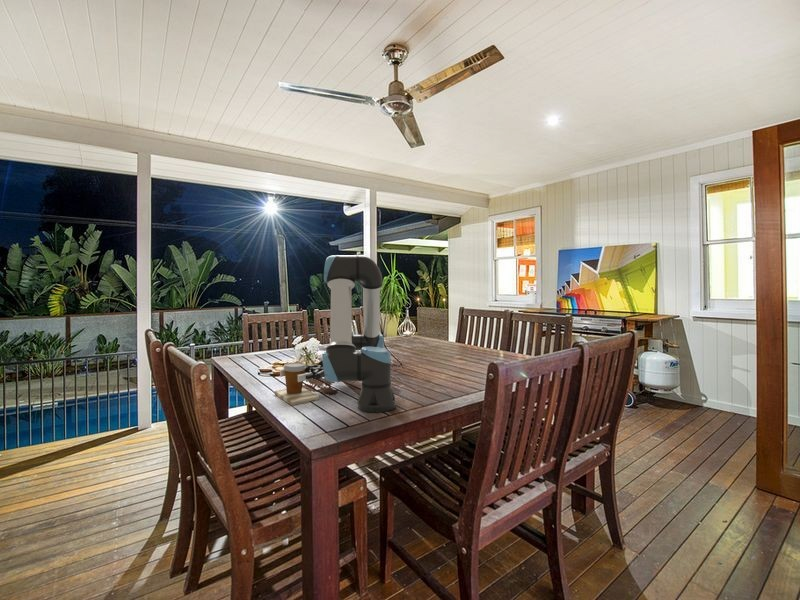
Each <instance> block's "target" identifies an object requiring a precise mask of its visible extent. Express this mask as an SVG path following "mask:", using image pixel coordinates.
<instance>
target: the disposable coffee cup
mask: <svg viewBox="0 0 800 600" xmlns="http://www.w3.org/2000/svg"><path fill="white" fill-rule="evenodd" d="M305 365H306V363H305V362H304V363H303V362H287V363H284V366H283V370H284V371H285V376H284V378H285V379H284V381H285V389H286V390H287V393H290V394H297V393H300V392H302V387H303V383H304V381H301V382H298V375H301V374H305V373H306V372H305V368H306V366H305Z"/></svg>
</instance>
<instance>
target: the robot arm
mask: <svg viewBox="0 0 800 600" xmlns="http://www.w3.org/2000/svg"><path fill="white" fill-rule="evenodd" d="M323 281H324V283H326V284H327V287H328V288H329V289H330V328H329V329H330V339H329V340H330V341H329V344H328V345H327V346H326V348H325V350H326V351H323V352H322V354H321V356H322V358H321V360H320V361H319V363H318V364H314V363H311V364H305V366H306V368H305V372H304V374H301V375H298V382H301V381H303V382H305V381H309V380H310V381H311V380H312V379H313V380H315V379H316V380H320V379H321V378H325V380H326V381H327V382H330V383H339V382H341V383H342V382H344V383H345V382H361V389H360V391H359V392H360V393H359V395H358V399H357V408H358V409H359V410H360V411H362V412H367V413H384V412H388V411H392V410H393V409H395V408H396V406H397V405H396V397H395V394H394V392H393V388H392V367H391V366H392V360H391V359H392V357H391V352H390V351H389V350H388V349H386V348H384V334H382V333H380V326H381V325H380V324H381V323H380V317H381V316H380V314H381V288H383V276H382V272H381V270H380V268H379V266H378V264H377V263H376V262H375V261H374V260H373V259H372V258H371V257H369V256H367V255H362V254H358V255H357V254H354V255H345V254H343V255H342V254H341V255H339V254H335V255H329V256H328V257H326V259H325V262H324V269H323ZM356 283H360V286H361V288H362V290H363V291H362V293H363V295H362V296H363V297H362V299H363V300H362V302H363V303H362V305H363V308H362V309H363V310H362V311H363V334H354V331H352V330H353V328H352V326H353V324H352V322H353V321H352V320H353V319H352V318H353V316H352V314H353V313H352V312H353V311H352V310H353V309H352V303H353V302H352V289H354V288H355V287H356ZM279 377H285V371H284V369H281V370H279Z"/></svg>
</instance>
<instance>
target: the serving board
mask: <svg viewBox="0 0 800 600" xmlns="http://www.w3.org/2000/svg"><path fill="white" fill-rule="evenodd" d="M274 395H275V396H276V395H277V397H278V398H280V400H283V401H284V402H285V403H287V404H289V405H290V406H295V405H300V404H305V403H309V401H310V402H313V400H314V401H318V400H317V399H319V400H320V395H318V394H317V393H314V392H312V391H310V390H309V389H306V388H305V387H303V386H302V392H300V393H297V394H290V393H287V390H286V388H284V389H278V390H274Z"/></svg>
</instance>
